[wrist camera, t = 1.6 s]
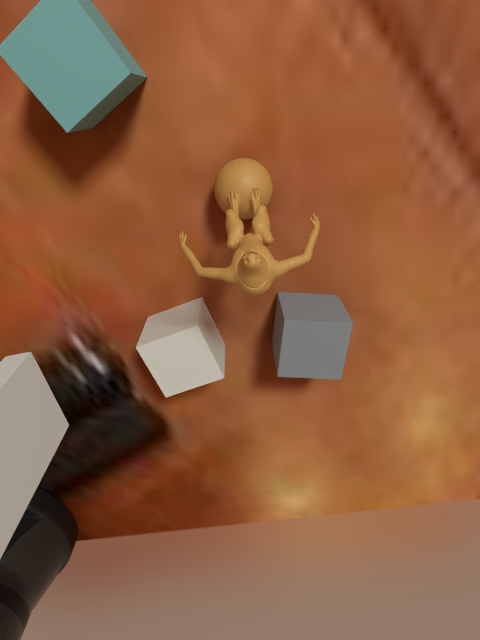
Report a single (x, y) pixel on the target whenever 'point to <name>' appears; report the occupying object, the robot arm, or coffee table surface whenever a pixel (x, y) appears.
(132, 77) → the cube teal
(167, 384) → the cube offwhite
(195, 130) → the coffee table surface
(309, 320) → the cube slate
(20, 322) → the coffee table surface
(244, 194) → the figurine
